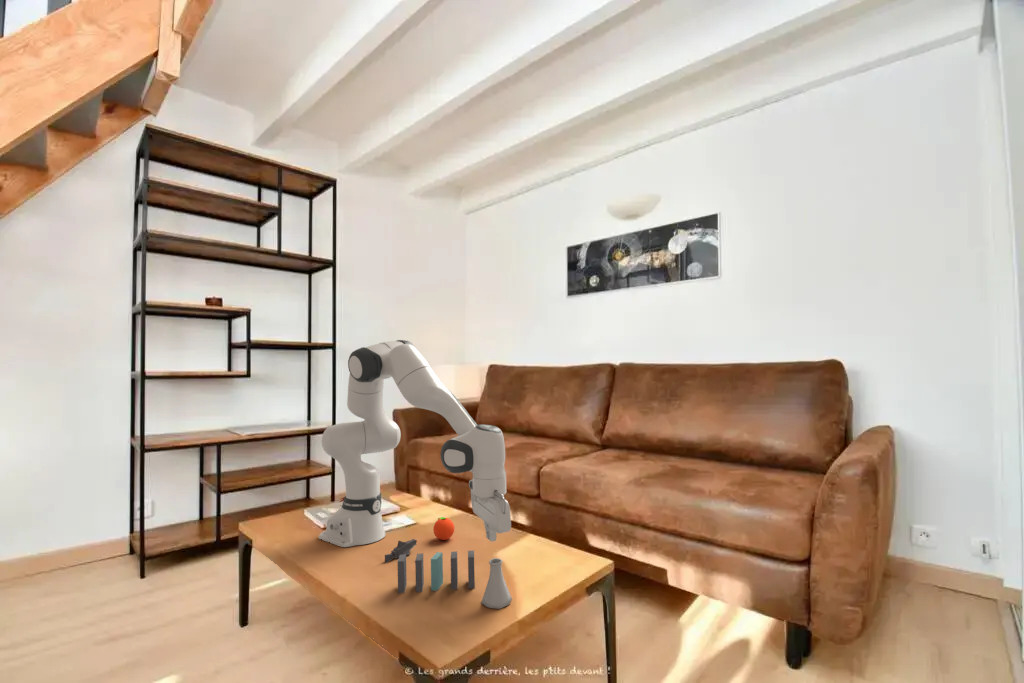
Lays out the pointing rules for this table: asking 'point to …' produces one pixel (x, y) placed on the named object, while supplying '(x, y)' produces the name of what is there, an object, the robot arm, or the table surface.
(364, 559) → the table surface
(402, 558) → the domino
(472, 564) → the domino
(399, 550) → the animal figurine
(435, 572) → the domino
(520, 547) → the table surface
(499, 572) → the flask
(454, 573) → the domino
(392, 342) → the robot arm
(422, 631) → the table surface
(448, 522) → the clementine
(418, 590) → the domino
